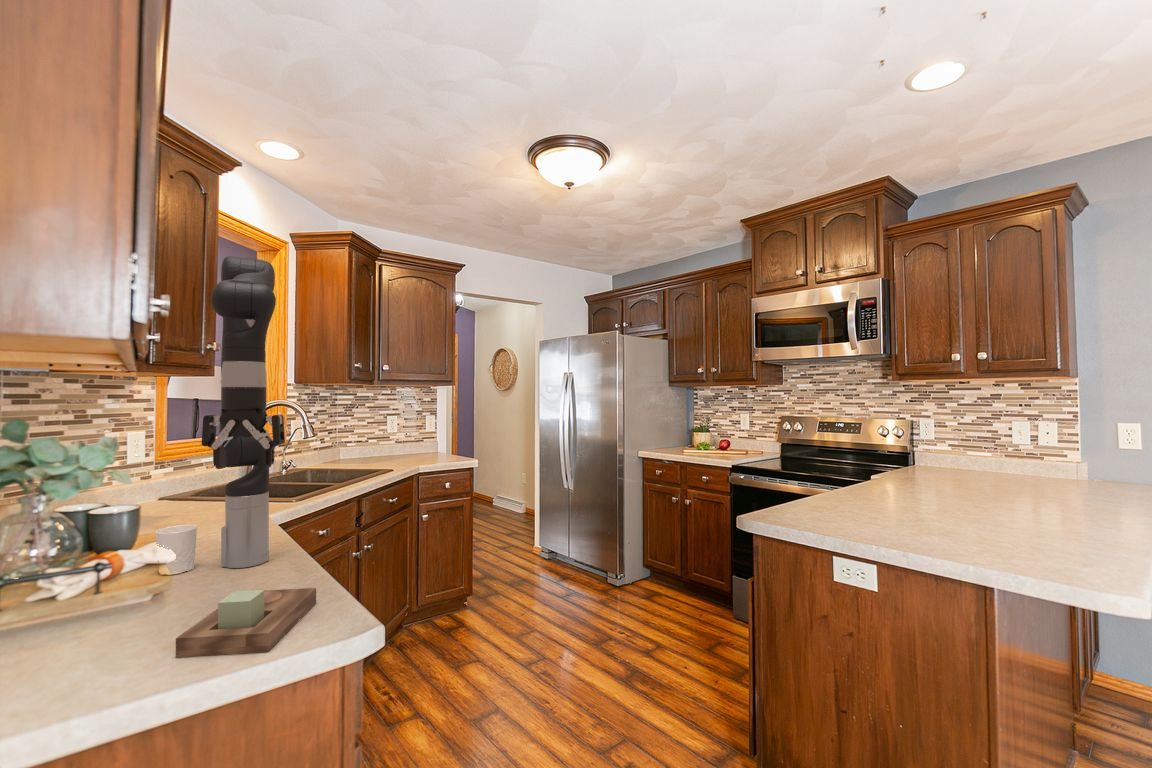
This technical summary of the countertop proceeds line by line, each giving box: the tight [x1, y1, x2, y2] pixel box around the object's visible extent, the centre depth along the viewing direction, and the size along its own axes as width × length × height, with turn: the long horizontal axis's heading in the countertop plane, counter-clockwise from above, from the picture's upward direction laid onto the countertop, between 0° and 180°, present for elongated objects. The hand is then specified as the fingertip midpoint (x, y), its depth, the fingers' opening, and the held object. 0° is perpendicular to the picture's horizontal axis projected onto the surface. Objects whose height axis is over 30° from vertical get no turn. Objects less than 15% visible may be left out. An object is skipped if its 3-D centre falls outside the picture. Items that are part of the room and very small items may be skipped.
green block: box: [217, 589, 265, 629], centre depth 90 cm, size 5×5×6 cm
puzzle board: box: [175, 587, 317, 658], centre depth 94 cm, size 14×20×4 cm
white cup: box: [155, 524, 198, 573], centre depth 126 cm, size 8×8×10 cm
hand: (243, 468), depth 103 cm, fingers open, 8 cm apart
